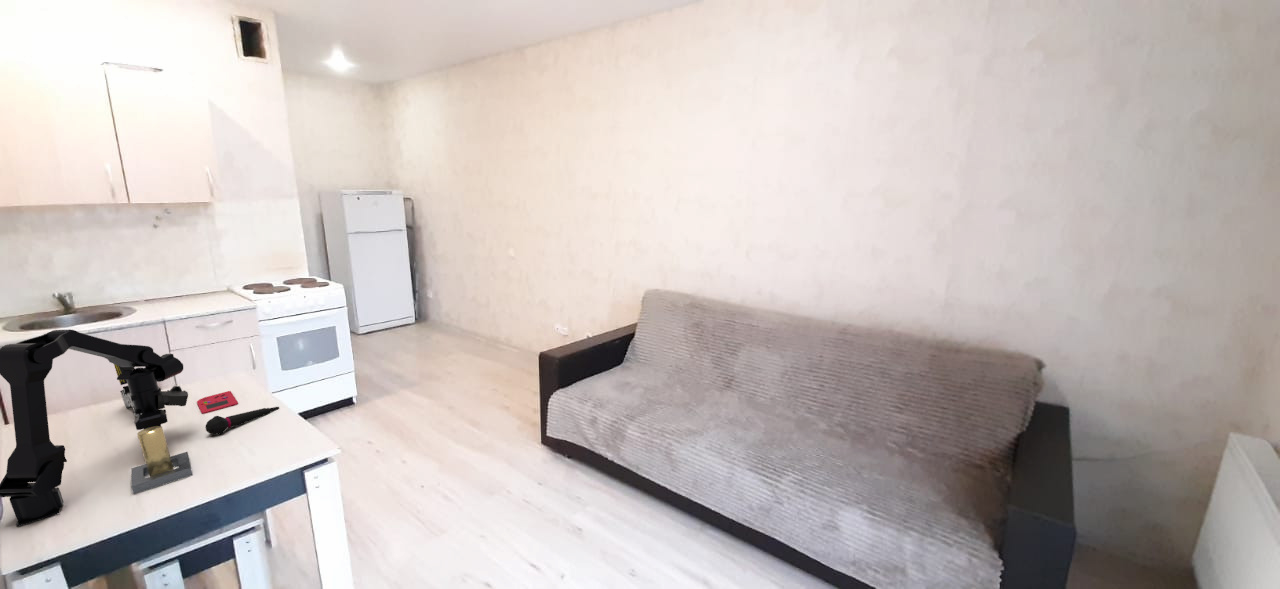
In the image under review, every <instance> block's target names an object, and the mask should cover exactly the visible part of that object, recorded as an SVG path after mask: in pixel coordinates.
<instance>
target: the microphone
mask: <svg viewBox="0 0 1280 589" xmlns="http://www.w3.org/2000/svg"><path fill="white" fill-rule="evenodd" d="M279 409H280V406H274V407H267V408H265V407H264V408H259V409H254V410H251V411H246V412H242V413H237V414H234V415H233V414H232V415H228V416H226V417H222V416H219V415H215V416H213V417H212V418H210V419H209V420H208V421H207V422H206V424H205V431H206V432H207V433H209V434H211V435H219V434H220V435H222V434H223V433H226V432H225V431H226V430H227V429H228V428H229V429H230V428H233V427H235V426H241V425H244V424H245V423H247V422H250V421H253V420H256V419H259V418H261V417H264V416H266V415H268V414H270V413H272V412H275V411H277V410H279ZM258 417H259V418H258Z"/></svg>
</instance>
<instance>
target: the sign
mask: <svg viewBox="0 0 1280 589" xmlns="http://www.w3.org/2000/svg"><path fill="white" fill-rule="evenodd" d="M113 366H114V369H115V372H116V376H117V377H118V376H119V375H120V374H121V373H122V371H123V370H133V369H136V367H120V366H117V365H115V364H113ZM118 381H119V384H120V386H122V389H121V390H120V395H121V398H122V401H123V404H124V407H125V409H126V408H127V409H132V410H133V412H132V413H133V416H134V418H135V419H136V418H137V417H138V416H139V415H141V414H137V415H136V414H135V408H134V404H133V401H132V400H131V394H130V390H129V387H128V383H127V380H118ZM123 385H124V386H123Z"/></svg>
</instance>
